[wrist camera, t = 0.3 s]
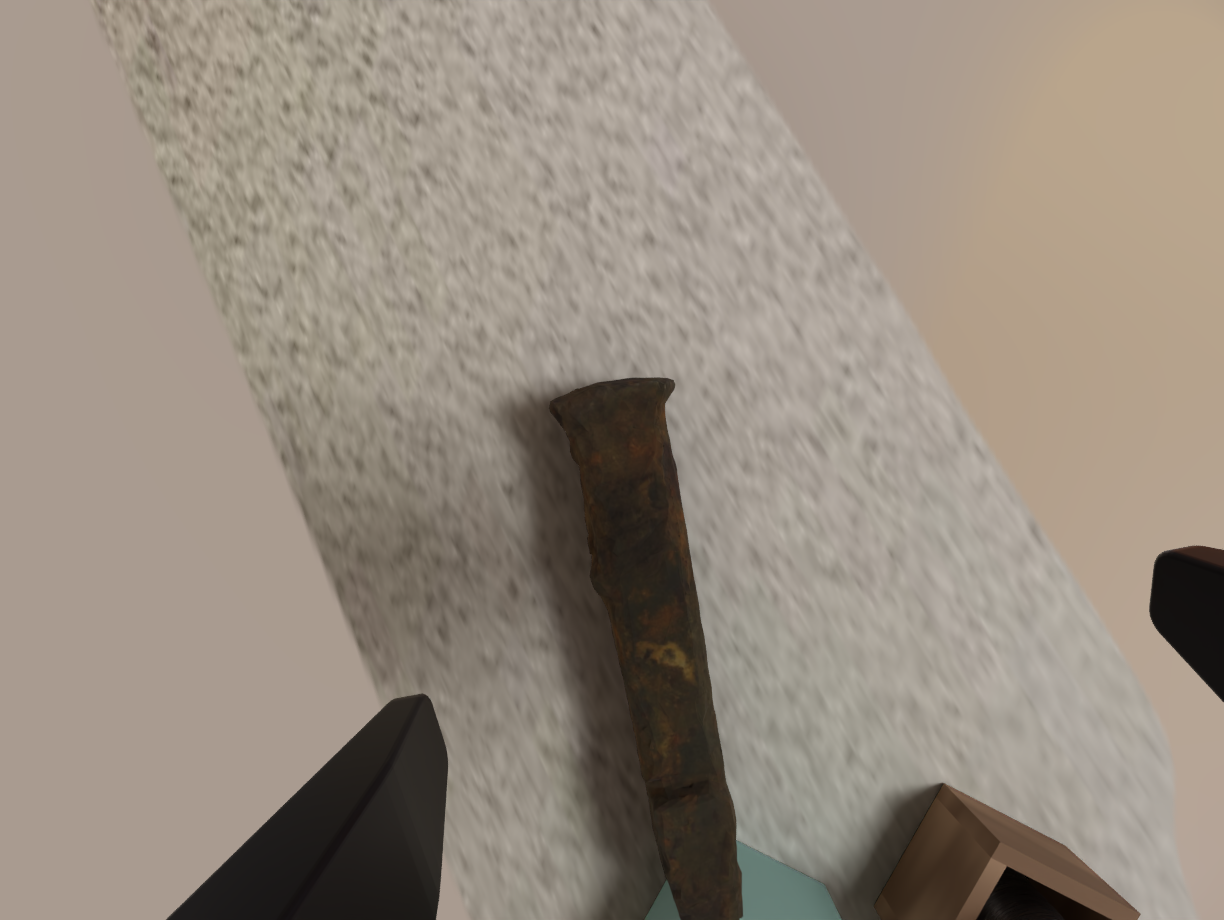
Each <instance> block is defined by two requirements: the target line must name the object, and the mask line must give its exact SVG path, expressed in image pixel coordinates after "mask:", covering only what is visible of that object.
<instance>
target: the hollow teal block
mask: <svg viewBox="0 0 1224 920" xmlns="http://www.w3.org/2000/svg"><path fill="white" fill-rule="evenodd" d="M736 843H737V862H738V864H739V867H740V869H741V871H742V899H743V917H742V918H740V920H842V919H841V917H840V915H839V913H838V911H837V909H836V907H835V905H834V903H833V901H832V899H831V897H830V895H829V893H828V891H827V889H826V887H825V885H824V884H823V883H821V882H819V881H817V880H815V879H813V878H811V877H809V876H807V875H805V874H803V873H801V872H799V871H797V870H795V869H793V868H791V867H789V866H787V865H785V864H783V863H781V862H779V861H777V860H775V859H773V858H771V857H769V856H767V855H765V854H763V853H761V852H759V851H757V850H755V849H753V848H751V847H749V846H747V845H745V844H743V843H741V842H739V841H737V840H736ZM645 920H681V919H680V917H679V913H678V910H677V907H676V904H675V902H674V899H673V896H672V893H671V889H670V886H669V884H668V881H667V880H666V882H665V884H664V885H663V887H662V889H661V891H660V893H659V894H658V896H657V898H656V900H655V902H654V903H653V905H652V907H651V909H650V911H649V912H648V914H647V916H646V918H645Z"/></svg>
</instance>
